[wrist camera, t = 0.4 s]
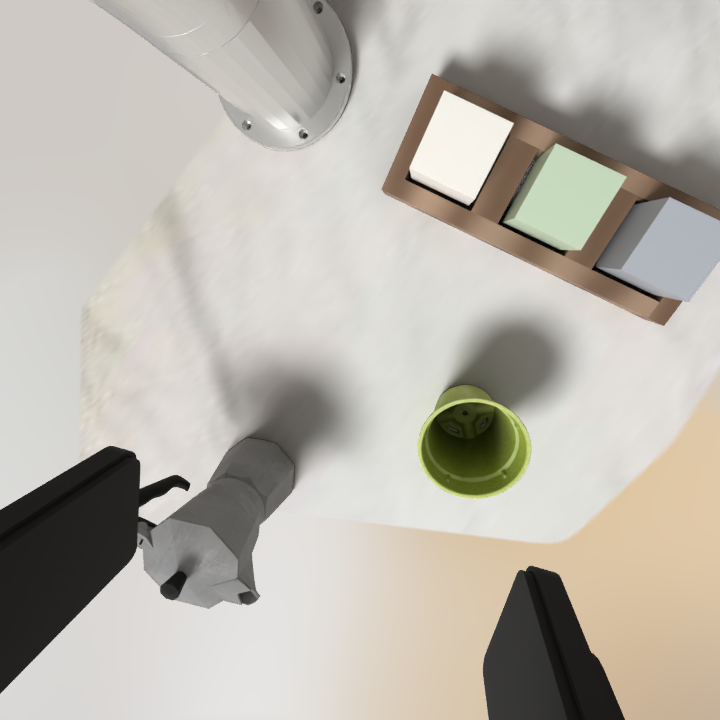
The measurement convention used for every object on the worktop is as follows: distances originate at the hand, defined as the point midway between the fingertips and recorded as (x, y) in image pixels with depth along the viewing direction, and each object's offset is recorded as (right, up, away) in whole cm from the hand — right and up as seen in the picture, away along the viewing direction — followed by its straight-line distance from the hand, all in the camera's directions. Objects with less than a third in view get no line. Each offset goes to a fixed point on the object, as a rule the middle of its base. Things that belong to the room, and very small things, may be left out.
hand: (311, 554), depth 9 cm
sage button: (+17, +18, +24) cm, 34 cm away
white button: (+9, +22, +24) cm, 34 cm away
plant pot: (+12, -1, +32) cm, 35 cm away
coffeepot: (-12, -8, +39) cm, 41 cm away
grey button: (+25, +14, +24) cm, 37 cm away
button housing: (+18, +18, +26) cm, 36 cm away
